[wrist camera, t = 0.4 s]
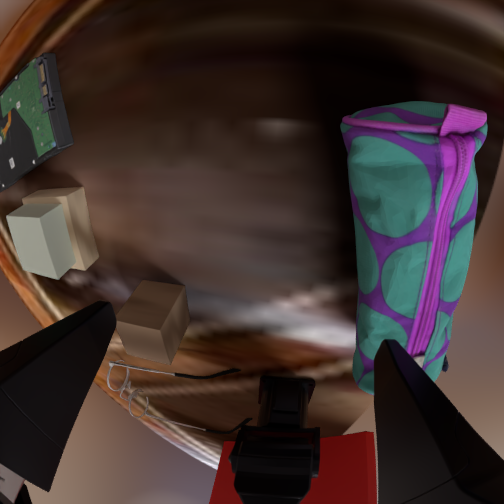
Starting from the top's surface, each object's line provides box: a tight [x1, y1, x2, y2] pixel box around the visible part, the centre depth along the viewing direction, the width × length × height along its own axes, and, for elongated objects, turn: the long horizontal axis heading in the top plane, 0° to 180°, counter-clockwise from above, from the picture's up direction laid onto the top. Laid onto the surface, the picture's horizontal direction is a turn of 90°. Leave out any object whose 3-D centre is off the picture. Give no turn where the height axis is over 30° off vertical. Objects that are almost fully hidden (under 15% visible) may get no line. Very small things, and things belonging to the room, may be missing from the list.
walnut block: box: [116, 280, 190, 365], centre depth 24 cm, size 4×4×6 cm
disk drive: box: [0, 53, 74, 192], centre depth 18 cm, size 10×3×15 cm
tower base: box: [22, 187, 99, 270], centre depth 23 cm, size 8×8×3 cm
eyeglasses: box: [107, 360, 253, 434], centre depth 34 cm, size 16×19×5 cm
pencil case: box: [340, 101, 487, 395], centre depth 16 cm, size 21×9×10 cm, turn 13°
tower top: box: [6, 204, 76, 279], centre depth 21 cm, size 6×6×3 cm
